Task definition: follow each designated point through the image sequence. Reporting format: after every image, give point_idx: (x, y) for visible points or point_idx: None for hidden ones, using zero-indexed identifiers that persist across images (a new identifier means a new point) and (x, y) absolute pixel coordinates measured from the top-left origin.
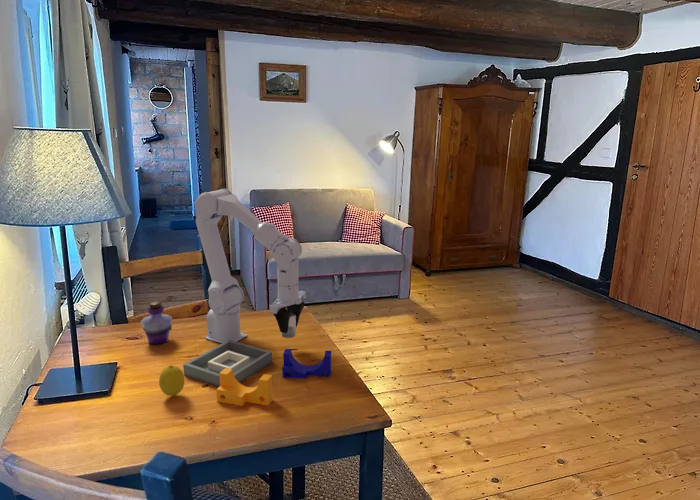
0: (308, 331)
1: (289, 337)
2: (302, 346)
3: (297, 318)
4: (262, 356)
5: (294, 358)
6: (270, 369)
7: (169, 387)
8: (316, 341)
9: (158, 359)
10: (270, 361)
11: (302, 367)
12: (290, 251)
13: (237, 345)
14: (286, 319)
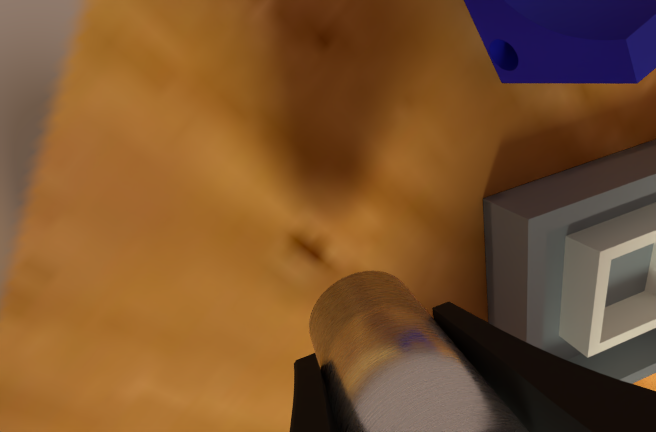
0: (68, 395)
1: (395, 278)
2: (243, 248)
3: (328, 430)
4: (593, 205)
5: (542, 24)
6: (540, 140)
7: None
8: (112, 252)
9: None
10: (502, 197)
11: None
12: None
13: None
14: (630, 386)
